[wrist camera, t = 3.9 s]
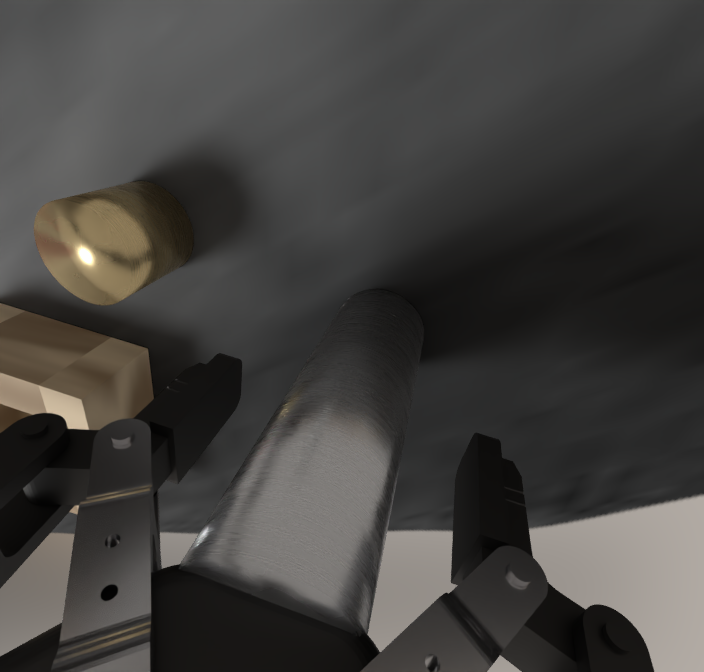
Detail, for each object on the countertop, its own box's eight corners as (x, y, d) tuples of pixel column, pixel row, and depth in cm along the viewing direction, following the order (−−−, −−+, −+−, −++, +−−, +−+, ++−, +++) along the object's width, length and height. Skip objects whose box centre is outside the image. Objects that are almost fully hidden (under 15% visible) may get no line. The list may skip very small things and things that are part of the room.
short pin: (107, 171, 17) (21, 188, 14) (192, 193, 17) (123, 215, 14) (120, 258, 20) (47, 290, 16) (195, 279, 19) (137, 316, 16)
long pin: (343, 279, 17) (163, 530, 7) (435, 303, 17) (384, 612, 7) (329, 354, 19) (176, 632, 9) (411, 378, 19) (344, 699, 9)
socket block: (-8, 300, 23) (-101, 339, 19) (147, 348, 22) (81, 399, 18) (34, 424, 28) (-32, 473, 25) (162, 468, 27) (113, 527, 24)
